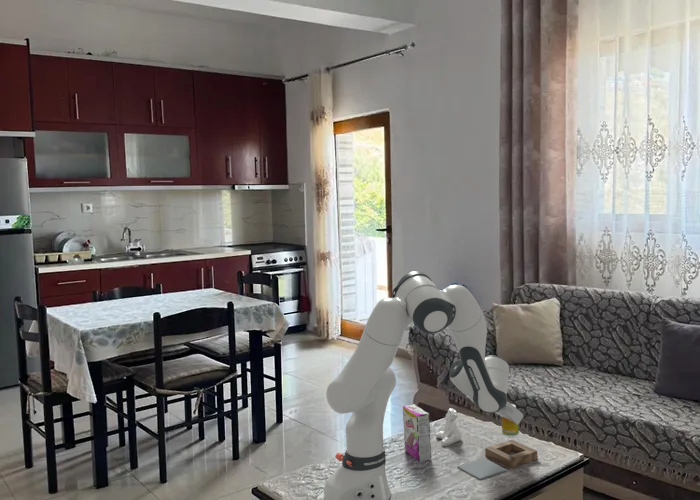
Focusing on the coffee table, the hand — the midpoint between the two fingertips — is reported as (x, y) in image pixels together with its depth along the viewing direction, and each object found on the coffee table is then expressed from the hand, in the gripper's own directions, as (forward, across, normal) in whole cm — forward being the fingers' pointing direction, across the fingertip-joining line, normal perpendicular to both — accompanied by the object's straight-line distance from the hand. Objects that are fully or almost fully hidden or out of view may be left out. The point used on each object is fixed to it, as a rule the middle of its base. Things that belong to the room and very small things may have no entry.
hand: (511, 419), depth 221 cm
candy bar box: (-9, +17, +28) cm, 34 cm away
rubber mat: (0, -2, +19) cm, 19 cm away
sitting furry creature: (+2, +23, +17) cm, 29 cm away
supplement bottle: (+3, 0, +4) cm, 5 cm away
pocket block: (+9, 0, +10) cm, 13 cm away
